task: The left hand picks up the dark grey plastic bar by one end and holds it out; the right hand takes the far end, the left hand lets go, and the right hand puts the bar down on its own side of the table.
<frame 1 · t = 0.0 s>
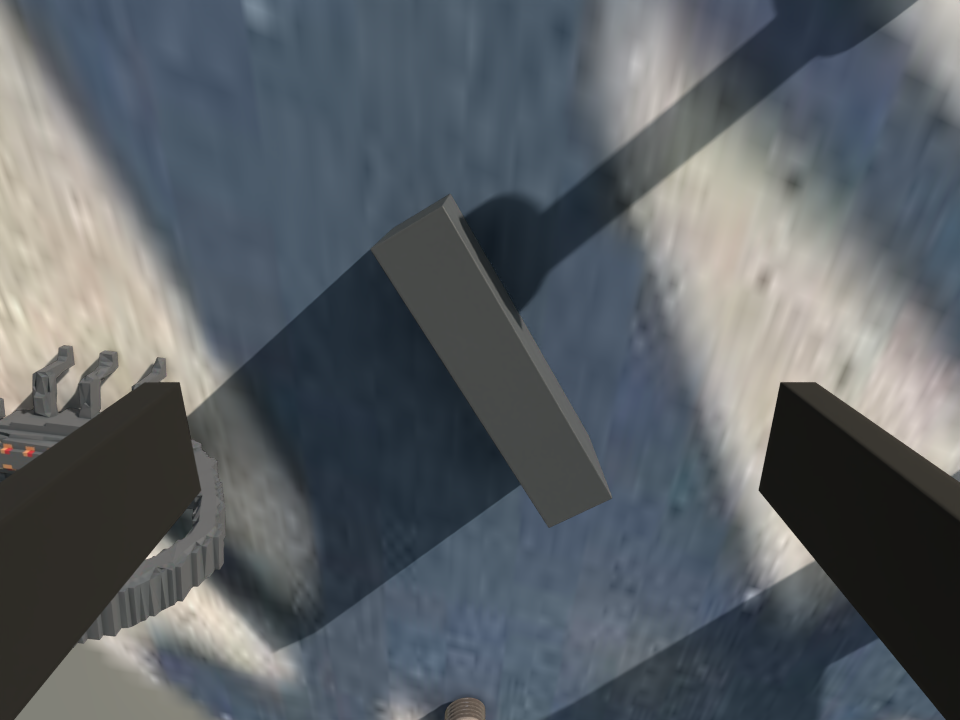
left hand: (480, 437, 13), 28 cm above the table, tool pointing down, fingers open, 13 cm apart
light bulb: (465, 710, 54), on the table
bar: (497, 339, 41), on the table
toy: (104, 422, 44), on the table
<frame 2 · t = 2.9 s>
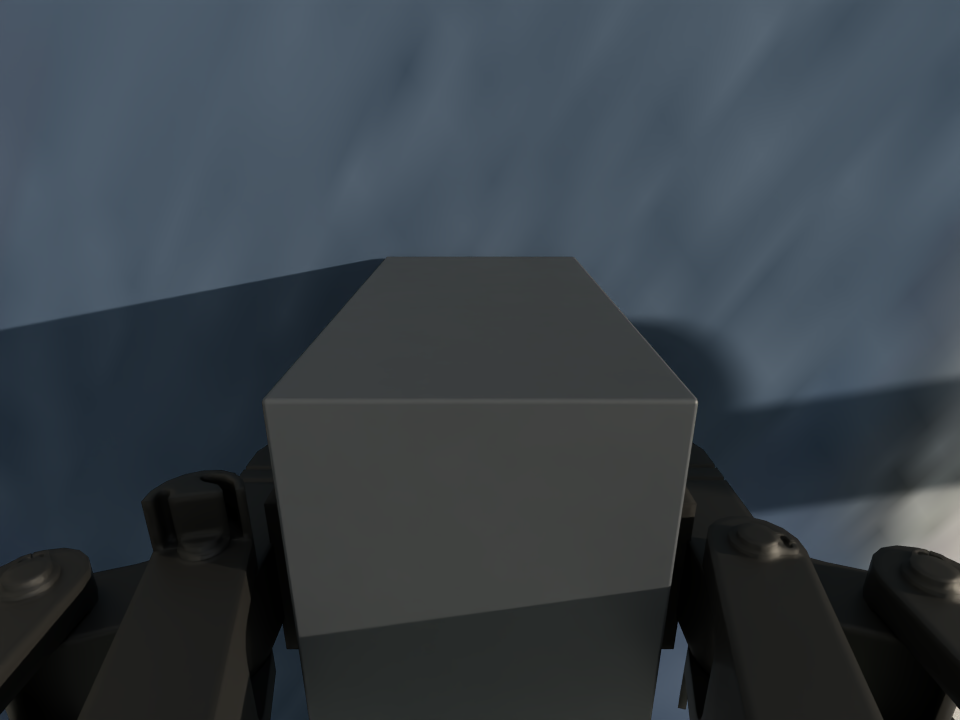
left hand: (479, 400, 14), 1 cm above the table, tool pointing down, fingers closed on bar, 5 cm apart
bar: (480, 596, 17), on the table, touching left hand
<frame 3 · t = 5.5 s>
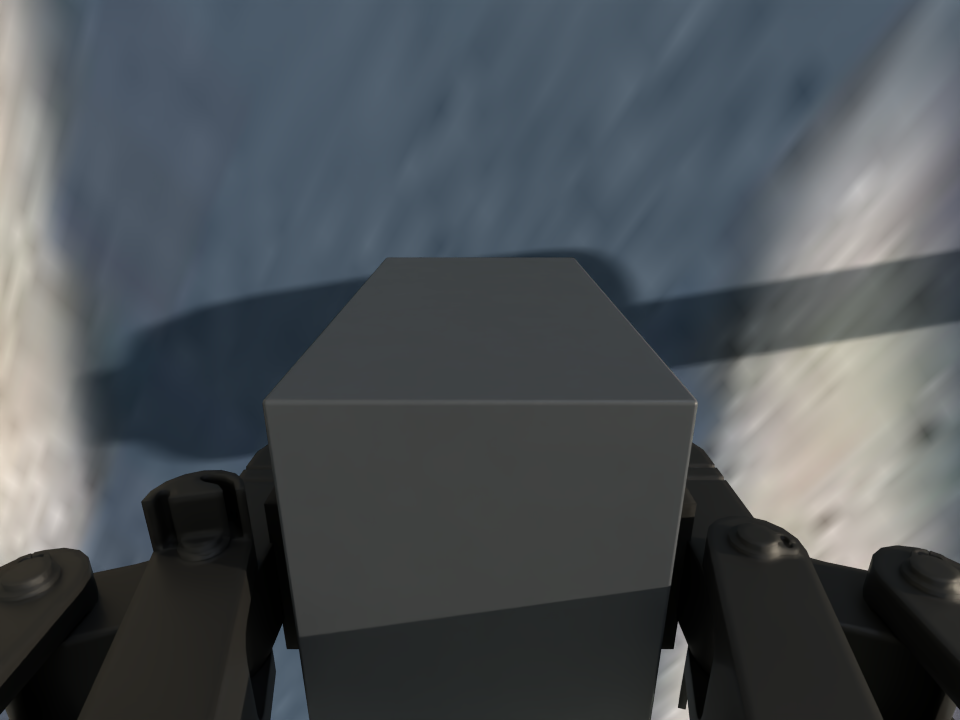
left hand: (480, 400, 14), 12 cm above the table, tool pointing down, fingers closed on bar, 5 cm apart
bar: (480, 596, 17), point 11 cm above the table, touching left hand
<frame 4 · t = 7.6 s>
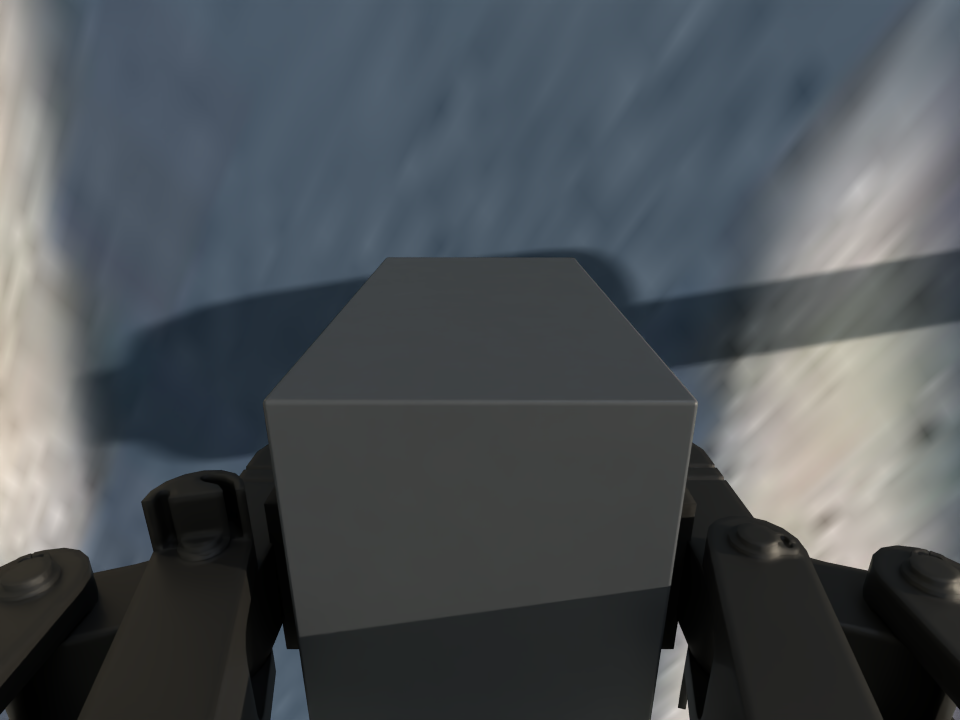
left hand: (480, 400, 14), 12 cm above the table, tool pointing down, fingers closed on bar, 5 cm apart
bar: (480, 596, 17), point 11 cm above the table, touching left hand, right hand
when the left hand's fingers open (12 cm above the table, at t = 8.2 s): bar stays where it is, held by the right hand.
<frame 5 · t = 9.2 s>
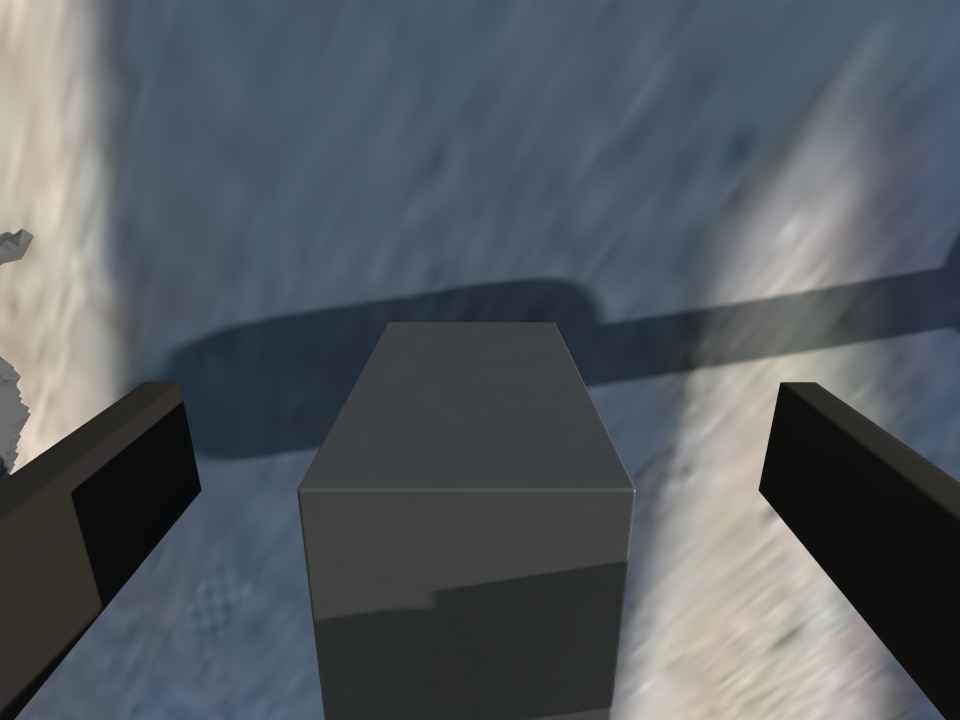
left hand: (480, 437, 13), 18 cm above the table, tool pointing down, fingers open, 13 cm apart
bar: (471, 621, 19), point 14 cm above the table, touching right hand
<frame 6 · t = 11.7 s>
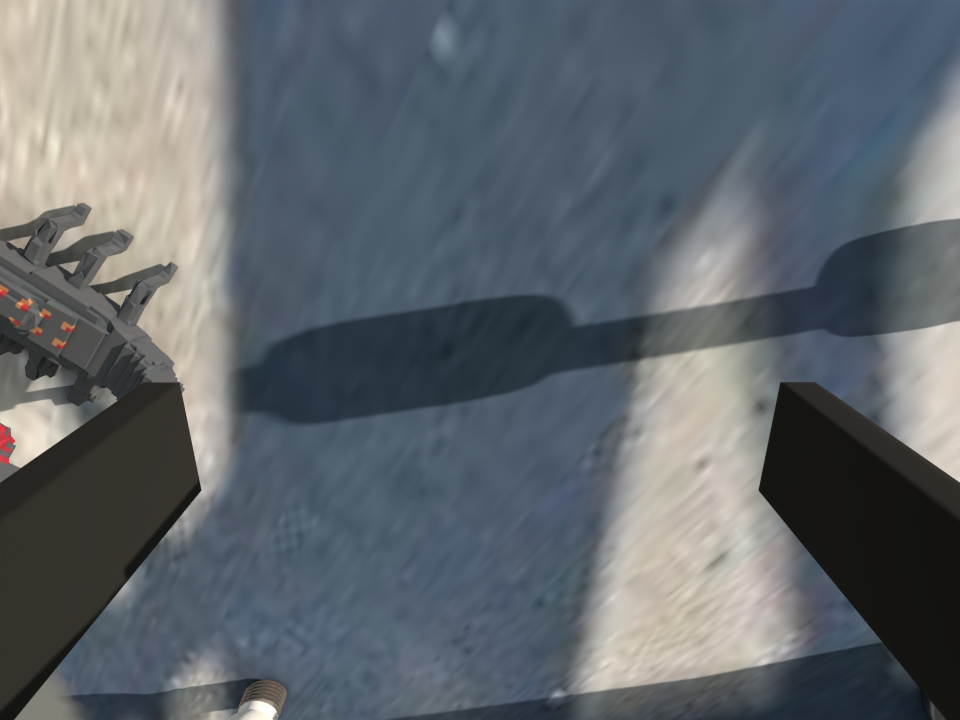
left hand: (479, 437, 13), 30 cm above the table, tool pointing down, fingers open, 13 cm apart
light bulb: (266, 692, 56), on the table
toy: (78, 289, 42), on the table
when the right hand's fingers open (2 cm above the table, at t = 16.2 s): bar drops 2 cm, on the table.
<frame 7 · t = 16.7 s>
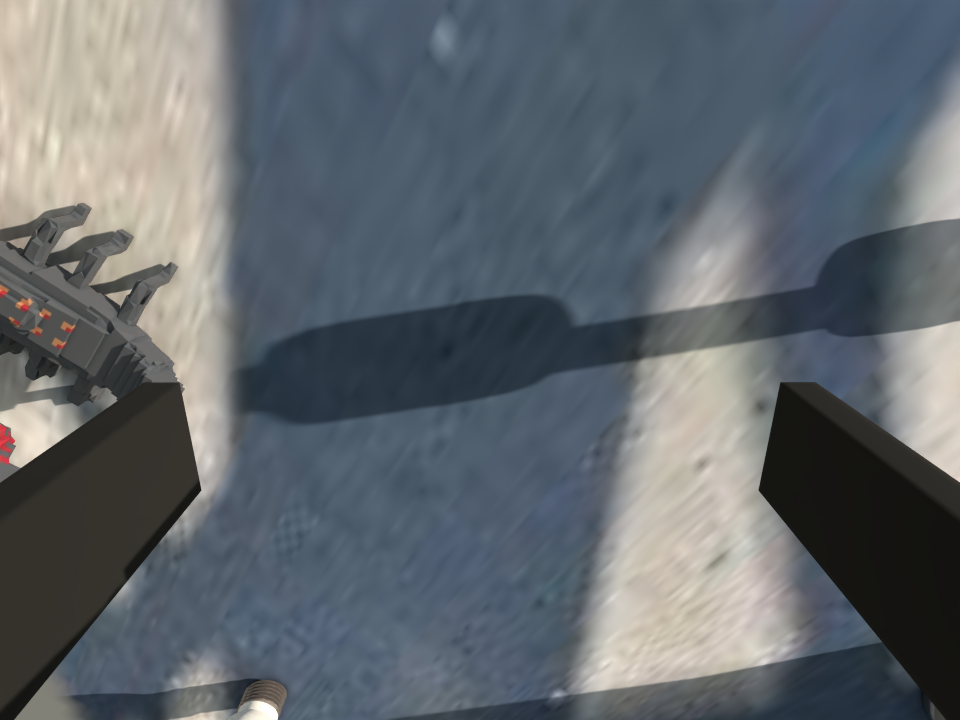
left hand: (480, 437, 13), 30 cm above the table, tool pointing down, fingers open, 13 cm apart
light bulb: (266, 692, 56), on the table
toy: (78, 289, 42), on the table
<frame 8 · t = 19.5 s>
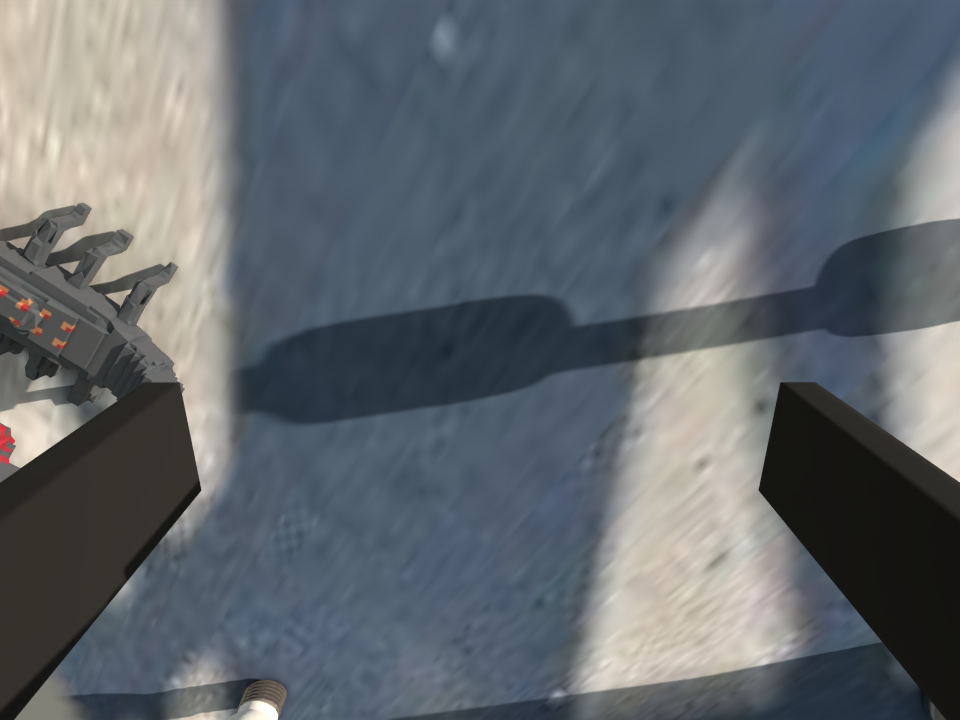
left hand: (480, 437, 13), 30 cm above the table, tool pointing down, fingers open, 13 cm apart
light bulb: (266, 692, 56), on the table
toy: (78, 289, 42), on the table
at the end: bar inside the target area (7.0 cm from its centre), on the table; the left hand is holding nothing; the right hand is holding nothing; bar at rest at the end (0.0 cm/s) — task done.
